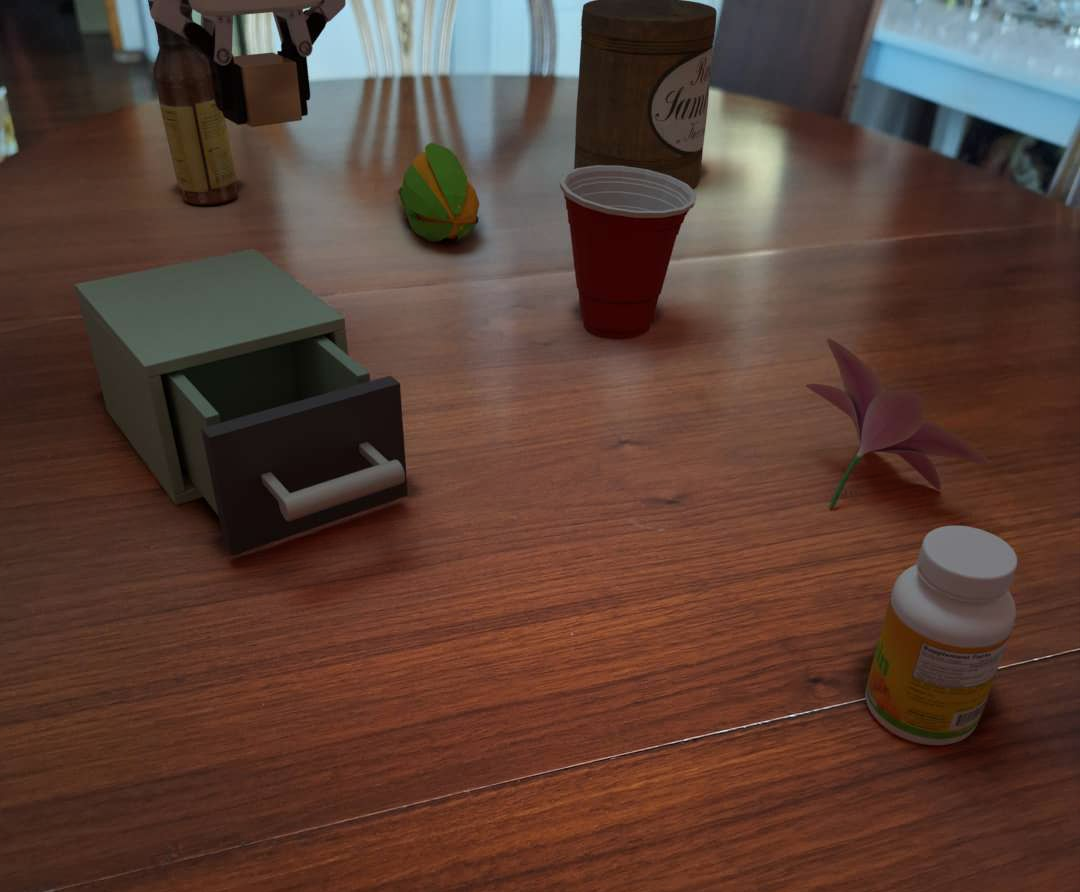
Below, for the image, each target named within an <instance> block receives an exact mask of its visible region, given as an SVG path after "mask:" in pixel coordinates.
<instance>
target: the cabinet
mask: <svg viewBox="0 0 1080 892" xmlns="http://www.w3.org/2000/svg"><path fill="white" fill-rule="evenodd" d="M74 288H75V292H76V295H77V300H78V304H79V307H80V311H81V315H82V319H83V323H84V328H85V331H86V334H87V339H88V342H89V346H90V350H91V355H92V357H93V363H94V365H95V366H94V367H95V370H96V374H97V377H98V382H99V385H100V389H101V393H102V397H103V401H104V404H105V408H106V412H107V414H108V415H109V416H110V417H111V419H112V420H113V421H114V423H115V424H116V425H117V427H118V428H119V429H120V431H121V432H122V434H123V435H124V437H125V438H126V439H127V441H128V442H129V443H130V445H131V446H132V447H133V449H134V450H135V451H136V453H137V455H138V456H139V457H140V458H141V460H142V462H143V463H144V464H145V465H146V466H147V468H148V470H149V471H150V472H151V473H152V474H153V476H154V477H155V479H156V480H157V481H158V483H159V484H160V485H161V487H162V488H163V490H164V491H165V493H166V494H167V495H168V497H169V498H170V499H171V500H172V502H173V503H174V505H175V506H179V505H181V504H185V503H189V502H191V501H195V500H198V499H202V498H204V497H203V495H202V494H201V493H200V491H199V490H198V489H197V488H196V486H195V485H194V484H193V482H192V481H191V480H190V479H189V477H188V476H187V475H186V474H185V472H184V471H183V470H182V468H181V467H180V463H179V458H178V453H177V449H176V444H175V440H174V435H173V430H172V426H171V421H170V417H169V412H168V408H167V403H166V398H165V394H164V389H163V385H162V380H161V376H160V375H161V374H165V373H169V372H173V371H177V370H181V369H185V368H189V367H194V366H198V365H202V364H206V363H210V362H214V361H218V360H222V359H226V358H230V357H234V356H238V355H242V354H246V353H250V352H254V351H258V350H262V349H266V348H270V347H274V346H278V345H282V344H286V343H290V342H294V341H298V340H302V339H306V338H310V337H314V336H318V335H322V334H323V335H324V336H325V337H326V338H327V339H329V340H330V341H331V342H332V343H334V344H335V345H336V346H337V347H338V348H340V349H341V350H342V351H343V352H345V353H346V354H347V355H348V356H349V349H348V340H347V339H348V338H347V329H346V318H345V317H344V316H343V315H342V314H340V313H339V312H338V311H337V310H335V309H334V308H332V307H331V306H330V305H329V304H327V303H326V302H325V301H323V299H321V298H320V297H318V296H317V295H316V294H314V293H313V292H312V291H311V290H309V289H308V288H307V287H305V286H304V285H303V284H302V283H300V282H299V281H298V280H296V279H295V278H294V277H292V276H291V275H290V274H288V273H287V272H286V271H285V270H283V269H282V268H280V267H279V266H278V265H276V264H275V263H274V262H273V261H272V260H270V259H269V258H267V256H265V255H264V254H262V253H261V252H260V251H259V250H257V249H256V248H249V249H245V250H240V251H235V252H230V253H224V254H220V255H215V256H209V257H205V258H199V259H195V260H189V261H184V262H180V263H175V264H170V265H163V266H159V267H153V268H150V269H146V270H145V269H144V270H139V271H134V272H129V273H124V274H120V275H115V276H109V277H104V278H100V279H95V280H89V281H84V282H79V283H75V284H74Z"/></svg>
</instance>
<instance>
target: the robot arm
mask: <svg viewBox="0 0 1080 892" xmlns="http://www.w3.org/2000/svg"><path fill="white" fill-rule="evenodd" d="M346 3H347V2H346V0H154V3H153V5H152V8H151V11H150V10H149V14H150V17H151V19H152V20H153V21H154V20H155V21H156V22H158V23H159V24H161V25H163V26H165V27H166V28H168V29H170V30H172V31H173V32H175V33H177V34H179V35H180V36H182V37H183V38H184V39H185V40H187V41H188V42H189V43H190V44H191V45H192V46H193V47H195V48H196V49H197V50H198V51H199V52H200V53H202V55H203V56H204V57H205V58H207V59H208V60H209V65H210V71H211V78H212V85H213V91H214V98H215V103H216V106H217V108H218V109H219V110H220V111H222V113H223V116H224V117H225V120H226V119H227V120H228V121H229V122H232V123H233V124H235V125H237V126H240V125H247V124H246V122H247V112H246V104H245V97H244V90H243V82H242V75H241V69H240V66H239V65H237V64H235V63H234V59H233V56H234V54H233V32H234V31H233V30H234V29H233V28H234V16H243V15H256V14H268V13H272V16H273V19H274V22H275V25H276V29H277V32H278V37H279V40H280V43H281V44H280V50H277V51H276V54H278V55H280V56H282V57H285V58H287V59H290V60H292V61H295V62H296V67H297V76H298V86H299V95H300V105H301V114H302V117H306V116H308V114H309V109H308V101H310V99H311V88H310V75H309V67H308V66H309V65H308V58H307V57H310V56H311V54H312V52H313V46H314V44H315V43H316V41H317V39H318V38H319V37H320V35H321V34H322V33H323V31H324V30H325V28H326V26H327V24H328V22H329V23H330V22H331V21H332V20H333V19H334V18H335V17H336V16H338V14H339V13H340V12H341V11H343V9H344V8H345V7H346ZM180 6H183V7H186V8H192V9H193V10H192V11H194V12H196V13H198V14H200V24H199V23H197V22H195V21H194V20H193V21H192V20H190V19H188V18H187V17H185V16H184V15H183V14H182V13H181V11H180Z"/></svg>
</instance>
